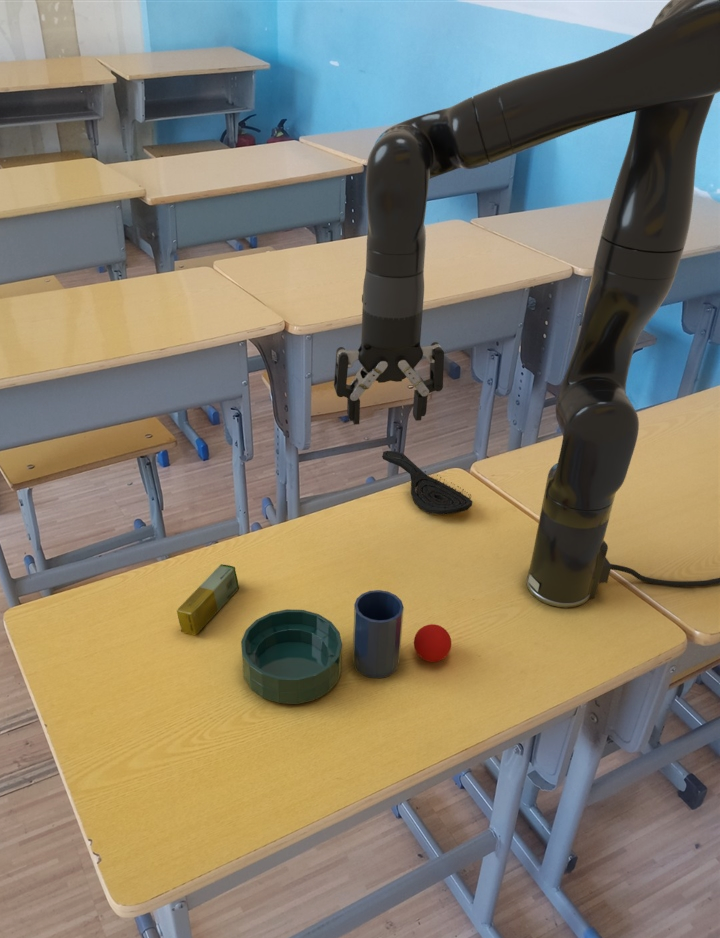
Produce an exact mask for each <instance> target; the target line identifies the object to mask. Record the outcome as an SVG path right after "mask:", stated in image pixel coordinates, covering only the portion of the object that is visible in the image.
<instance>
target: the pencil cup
mask: <svg viewBox="0 0 720 938" xmlns="http://www.w3.org/2000/svg"><path fill="white" fill-rule="evenodd" d="M404 610H405V608H404V604H403V601H402V599H401V598H399V597H398V595H396V594H394V593H392V592H390V591H388V590H387V591H386V590H381V589H376V590H375V589H374V590H368V591H366V592H363V593H360V595H359V596H358V597H357V598H356V599H355V602H354V605H353V631H352V665H353V667H354V668H355V670H356V671H357V672H358V673H359V674H360V675H362V676H365V677H366V678H369V679H370V678H371V679H383V678H387V677H389V676H392V675H393V674H394V673H395V672H396V671H397V670H398V668H399V666H400V665H399V664H400V656H401V644H402V632H403V621H404Z"/></svg>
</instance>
